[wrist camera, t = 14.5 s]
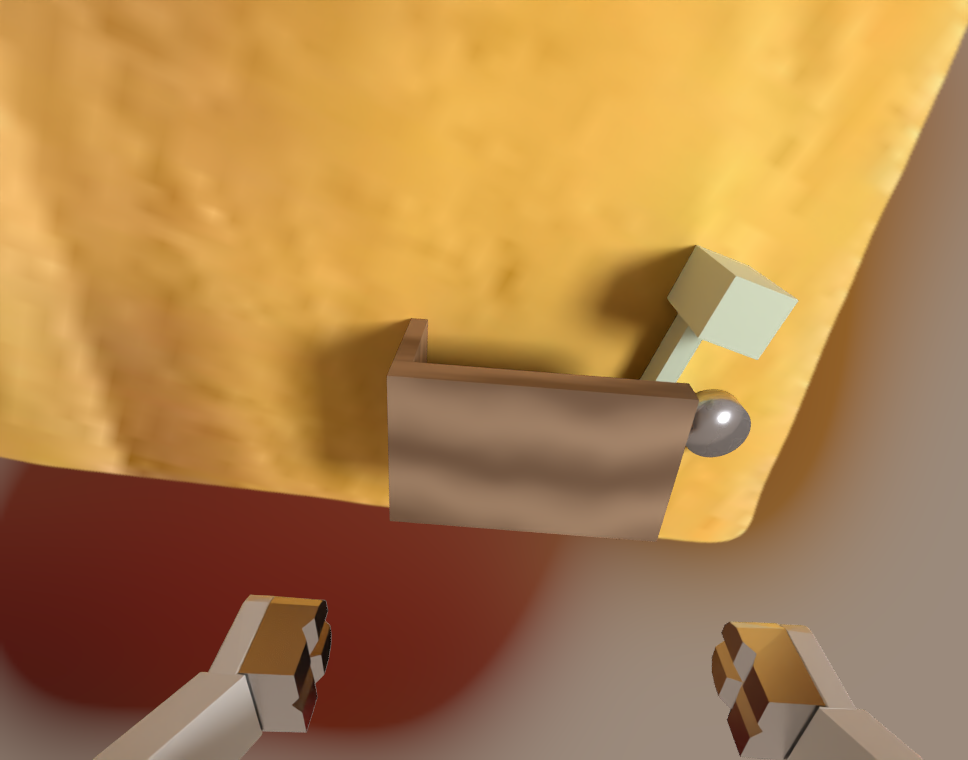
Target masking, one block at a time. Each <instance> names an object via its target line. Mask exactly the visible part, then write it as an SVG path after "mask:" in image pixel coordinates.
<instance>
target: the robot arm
mask: <svg viewBox="0 0 968 760" xmlns="http://www.w3.org/2000/svg"><path fill="white" fill-rule="evenodd" d="M327 612H328V608H327V604H326V600H314V599H302V598H288V597H276V596H260V595H250V596H249V597H248V598H247V599H246V600H245V601H244V603H243V605H242V607H241V609H240V610H239V613H238V615H237V617H236V619H235V620H234V623H233V625H232V626H231V628H230V630H229V632H228V634H227V636H226V638H225V640H224V642H223V644H222V646H221V648H220V650H219V652H218V654H217V656H216V658H215V660H214V662H213V664H212V666H211V668H210V670H209V672H200V673H199V674H198V675H197V676H195V677H194V678H193V679H192V680H190V681H189V682H188V683H187V684H185V685H184V686H183V687H182V688H180V689H179V690H178V691H177V692H176V693H174V694H173V695H172V696H171V697H169V698H168V699H167V700H166V701H164V702H163V703H162V704H161V705H159V706H158V707H157V708H156V709H155V710H153V711H152V712H151V713H150V714H148V715H147V716H146V717H145V718H144V719H142V720H141V721H140V722H138V723H137V724H136V725H135V726H134V727H132V728H131V729H130V730H129V731H127V732H126V733H125V734H124V735H122V736H121V737H120V738H119V739H117V740H116V741H115V742H114V743H112V744H111V745H110V746H109V747H108V748H106V749H105V750H104V751H103V752H101V753H100V754H99V755H98V756H96V757H95V758H94V759H93V760H240V759H241V758H242V757H243V755H244V754H245V753H246V752H247V751H248V750H249V749H250V748H251V746H252V745H253V744H254V743H255V742H256V741H257V740H258V738H259V737H260V736H261V735H262V731H273V732H274V731H276V732H307V729H308V726H309V723H310V719H311V716H312V713H313V710H314V707H315V703H316V700H317V692H316V686H315V683H316V682H317V681H318V680H319V679H320V678H321V677H322V676H323V675H324V674H325V670H326V666H327V663H328V660H329V653H330V648H331V627H330V625H329V624H328V623H327V622H326V621H325V619H326V616H327ZM721 633H722V635H723V638H724V642H722V643H720V644H719V645H717V646H716V647H715V650H714V652H713V655H712V675H713V680H714V684H715V688H716V691H717V693H718V696H719V697H720V699H722V701H723V702H724V703H726V705H727V706H728V707H729V708H730V712H729V715H728V718H727V722H728V724H729V727H730V730H731V733H732V736H733V739H734V741H735V744H736V747H737V750H738V752H739V755H740V757H746V758H758V759H770V760H924V759H923V758H921V757H920V756H919V755H918V754H917V753H915V752H914V751H913V750H912V749H911V748H910V747H908V746H907V745H906V744H905V743H903V742H902V741H901V740H900V739H899V738H898V737H896V736H895V735H894V734H893V733H892V732H890V731H889V730H888V729H887V728H886V727H884V726H883V725H882V724H881V723H880V722H878V721H877V720H876V719H875V718H874V717H872V716H871V715H870V714H869V713H868V712H867V711H865V710H864V709H856V708H855V706H854V704H853V702H852V701H851V699H850V697H849V695H848V694H847V692H846V690H845V689H844V687H843V685H842V683H841V682H840V680H839V678H838V676H837V675H836V673H835V671H834V669H833V668H832V666H831V664H830V662H829V661H828V659H827V657H826V655H825V654H824V652H823V650H822V648H821V647H820V645H819V643H818V642H817V640H816V638H815V636H814V635H813V633H812V631H811V630H810V629H808V628H807V627H806V626H802V625H782V624H780V625H779V624H776V623H753V622H728V623H727V624H725V625H724V627H723V630H722V632H721Z"/></svg>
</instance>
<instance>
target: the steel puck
mask: <svg viewBox="0 0 968 760" xmlns="http://www.w3.org/2000/svg"><path fill="white" fill-rule="evenodd" d="M696 395H697V397H698V399H699V403H698V407H697V410H696V413H695V416H694V420H693V423H692V426H691V430H690V433H689V436H688V439H687V443H686V446H687V448H688V449H689V450H690V451H692V452H693V453H695V454H697V455H699V456H703V457H717V456H722V455H725V454H728V453H730V452H732V451H733V450H735V449H736V448H738V447H739V446H740V445H741V444H742V443H743V442H744V441H745V439H746V438H747V436H748V434H749V431H750V427H751V421H750V417H749V415H748V413H747V412H746V410H745V409H744V408H743V407H742V405H741V404H740V403H739V402H738V401H737V399H736V398H735V397H734V396H733V395H731V394H730V393H728V392H726V391H722V390H716V389H711V390H704V391H700V392H698V393H696Z"/></svg>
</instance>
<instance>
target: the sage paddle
mask: <svg viewBox="0 0 968 760" xmlns="http://www.w3.org/2000/svg"><path fill="white" fill-rule="evenodd" d="M667 299H668V301H669V302H670V303H671V304H672V306H673V307H674V308H675V309H676V311H677V312H678V314H677V316H676V318H675V319H674V321H673V323H672V325H671V326H670V328H669V330H668V332H667V333H666V335H665V337H664V339H663V340H662V342H661V344H660V345H659V347H658V349H657V351H656V352H655V354H654V356H653V358H652V359H651V361H650V363H649V365H648V366H647V368H646V370H645V371H644V373H643V375H642V377H641V378H640V380H649V381H662V382H674V383H676V382H677V380H678V378H679V377H680V375H681V374H682V372H683V370H684V369H685V367H686V365H687V364H688V362H689V361H690V359H691V357H692V356H693V354H694V353H695V351H696V349H697V348H698V346H699V344H700V343H701V341H702V340H705V341H708V342H710V343H713V344H716V345H718V346H721V347H724V348H726V349H729V350H732V351H735V352H737V353H740V354H743V355H745V356H748V357H751V358H753V359H756V360H758V359H759V357H760V356H761V354H762V353H763V352H764V350H765V349H766V347H767V346H768V344H769V343H770V341H771V340H772V338H773V337H774V335H775V334H776V333H777V331H778V330H779V328H780V327H781V325H782V324H783V322H784V321H785V319H786V318H787V317H788V315H789V314H790V312H791V311H792V309H793V308H794V306H795V305H796V303H797V302H798V300H797V299H796V298H795V297H793V296H792V295H790V294H789V293H787V292H786V291H785V290H783V289H782V288H780V287H779V286H777V285H776V284H774V283H773V282H772V281H770V280H769V279H767V278H766V277H764V276H763V275H762V274H760V273H759V272H757V271H756V270H754V269H753V268H752V267H750V266H749V265H746V264H744V263H741V262H738V261H736V260H733V259H731V258H728V257H726V256H723V255H721V254H718V253H716V252H713V251H711V250H708V249H706V248H703V247H701V246H698V245H696V247H695V248H694V250H693V252H692V254H691V256H690V257H689V259H688V261H687V263H686V264H685V266H684V268H683V270H682V272H681V273H680V275H679V277H678V279H677V281H676V282H675V284H674V286H673V288H672V290H671V291H670V293H669V295H668V297H667Z"/></svg>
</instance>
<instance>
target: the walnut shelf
mask: <svg viewBox="0 0 968 760" xmlns="http://www.w3.org/2000/svg"><path fill="white" fill-rule="evenodd" d="M427 334H428V320H425V319H412V318H411V321H410V323H409V325H408V328H407V330H406V332H405V335H404V337H403V339H402V342H401V344H400V346H399V348H398V351H397V353H396V355H395V358H394V360H393V362H392V365H391V367H390V369H389V372H388V374H387V407H388V455H389V504H390V521H399V522H411V523H424V524H437V525H450V526H462V527H475V528H489V529H501V530H513V531H526V532H539V533H552V534H564V535H577V536H590V537H603V538H616V539H628V540H641V541H654V542H656V541H657V538H658V535H659V532H660V528H661V525H662V522H663V518H664V515H665V512H666V509H667V505H668V502H669V499H670V495H671V492H672V489H673V486H674V482H675V479H676V476H677V472H678V469H679V466H680V463H681V459H682V456H683V453H684V449H685V446H686V443H687V439H688V436H689V433H690V430H691V426H692V423H693V420H694V416H695V413H696V410H697V407H698V403H699V399H698V397H697V395H696V394H695V392H694V391H693V389H692V388H691V386H690V384H687V383H674V382H662V381H649V380H636V379H623V378H611V377H598V376H585V375H572V374H559V373H547V372H534V371H521V370H508V369H496V368H483V367H470V366H457V365H445V364H432V363H427Z"/></svg>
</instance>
